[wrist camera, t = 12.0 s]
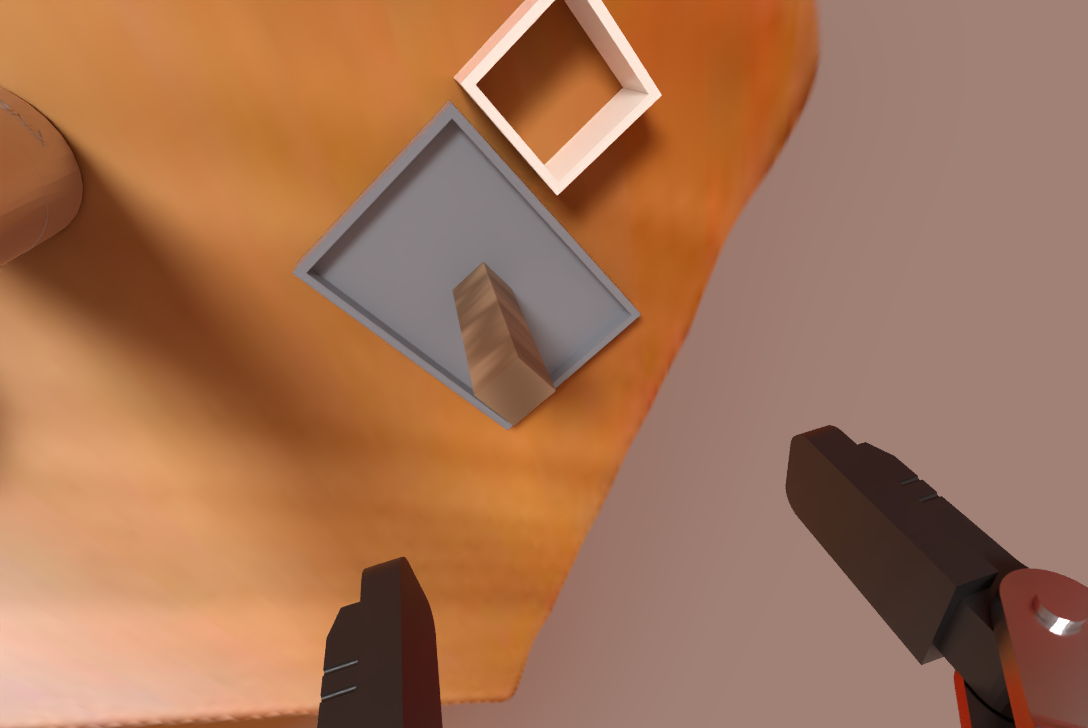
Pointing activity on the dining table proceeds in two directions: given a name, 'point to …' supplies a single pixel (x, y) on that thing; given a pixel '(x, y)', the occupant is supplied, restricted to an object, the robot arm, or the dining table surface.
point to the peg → (500, 347)
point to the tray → (461, 258)
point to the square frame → (604, 124)
